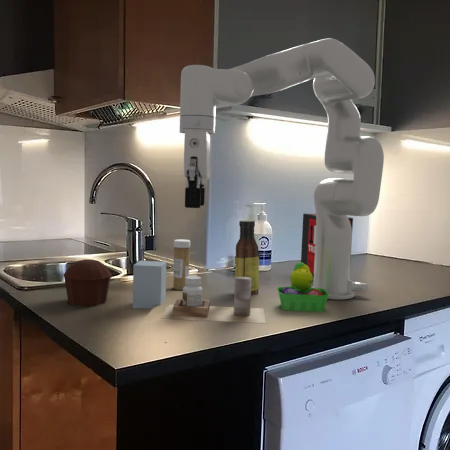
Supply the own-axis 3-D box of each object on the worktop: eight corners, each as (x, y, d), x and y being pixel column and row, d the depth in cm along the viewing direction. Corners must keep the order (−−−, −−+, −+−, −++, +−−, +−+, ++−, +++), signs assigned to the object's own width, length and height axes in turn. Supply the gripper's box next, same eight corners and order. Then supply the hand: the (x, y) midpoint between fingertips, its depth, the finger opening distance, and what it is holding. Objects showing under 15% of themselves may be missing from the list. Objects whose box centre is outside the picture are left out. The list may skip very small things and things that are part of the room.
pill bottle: (182, 309, 114) (182, 275, 113) (201, 309, 114) (202, 275, 113) (182, 314, 109) (183, 279, 109) (202, 314, 110) (203, 279, 109)
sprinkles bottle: (192, 289, 139) (193, 240, 138) (177, 290, 137) (178, 241, 135) (184, 286, 143) (185, 238, 142) (169, 287, 140) (170, 239, 139)
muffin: (61, 297, 125) (61, 257, 124) (106, 294, 129) (106, 256, 128) (66, 309, 114) (66, 265, 113) (115, 306, 119) (116, 263, 118)
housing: (165, 302, 124) (166, 261, 123) (160, 309, 117) (161, 266, 116) (139, 301, 124) (139, 260, 123) (132, 307, 117) (133, 265, 117)
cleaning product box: (349, 282, 156) (353, 218, 155) (323, 283, 154) (326, 217, 152) (324, 272, 172) (327, 213, 170) (300, 273, 170) (303, 213, 168)
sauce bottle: (261, 294, 136) (264, 220, 134) (254, 299, 130) (258, 222, 128) (237, 291, 138) (240, 219, 136) (230, 296, 132) (233, 220, 130)
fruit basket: (278, 315, 116) (280, 266, 115) (276, 305, 124) (278, 260, 123) (328, 317, 115) (331, 268, 114) (322, 307, 124) (325, 262, 123)
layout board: (263, 312, 117) (265, 274, 116) (265, 327, 105) (267, 285, 104) (168, 308, 118) (169, 270, 117) (160, 323, 106) (161, 280, 105)
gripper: (212, 122, 99) (209, 209, 101) (217, 130, 116) (214, 205, 118) (174, 121, 100) (171, 208, 101) (184, 129, 117) (182, 204, 118)
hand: (194, 206), depth 110 cm, fingers open, 9 cm apart
